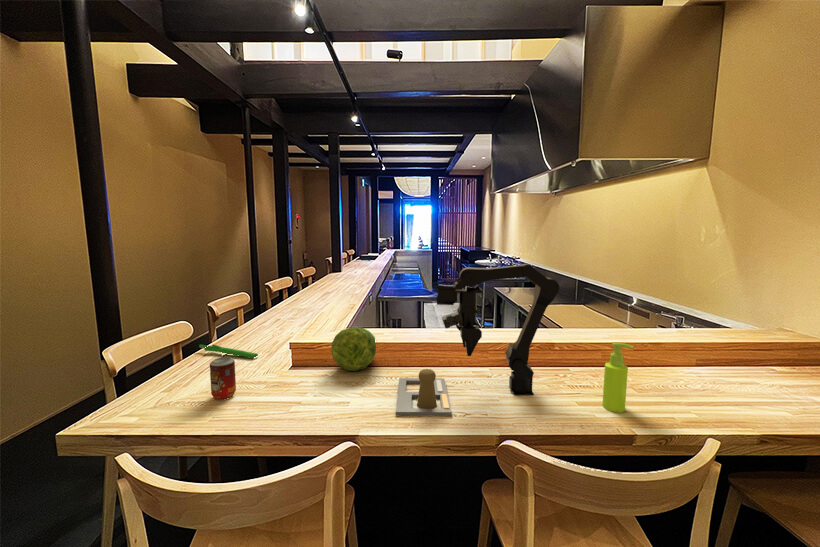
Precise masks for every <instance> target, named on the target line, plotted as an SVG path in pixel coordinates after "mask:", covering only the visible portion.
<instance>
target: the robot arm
mask: <svg viewBox="0 0 820 547" xmlns="http://www.w3.org/2000/svg"><path fill="white" fill-rule="evenodd" d="M514 278H515V279H516V278H526V279H527V280H528V281H530V282H531V283H532V284H533V285H535V286H534V287H535V288H534V291H533V301H532V304H531V306H530V309H529V310H528V314H527V316H526V318H525V321H524V323H523V326H522V328H521V330H520V333H519V335H518V337H517V339H516V341H515V342H514V343H512V342H509V343H508V347H507V349H506V350H505V351H504V354H505V360H506V362H507V365H508V367H509V369H510V370H511V371H510V375H509V379H508V381H509V382H508V388H509V390H510V391H511V392H512V394H513V395H514V396H534V395H535V394H534V392H533V379H534V378H533V377H534V374H535V372H534V371H533V369H532V367H531V365H530V364H529V358H530V348H531V345H532V342H533V340H534V338H535V336H536V333H537V331H538V328H539V327H540V325H541V324H540V323H541V321H542V319H543V317H544V314H545V312H546V310H547V308H548V306H550V305H551V304H552V302H553V301H554V300H555V299H556V296H557V295H558V294H559V292H560V290H561V288H560V284H559V282H558V281H557V280H555V279H554V278H550V277H548V276H545V275H544V274H542V273H540V272H539V271H538V270H536V269H535V268H534V267H533V265H532V264H528V263H522V264H518V265H509V266H498V267H491V268H486V267H485V268H483V267H472V266H471V267H470V266H467V267H464V268H462V269H461V270H460V271H459V277H458V279H457V280H456V281H455V282H454V284H441V283H439V284H438V285H437V294H436V305H437V306H454V305H455V304H456V303H458V307H457V309H456V310H457V311H454V312H451V313H449V314H446V315H443V316H441V320H442V323H443V325H444V328H445V329H450V328H452V327H453V326H456V328H457V330H458V331H460V332H459V333H460V338H461V341H462V346H463V348H465V349H466V350H465V351H466V356H467V357H471V356H472V355H473V352H474V350H475V349H476V347H477V344H478V342H479V341H480V340H481V339H482V338H483V336H482V335H483V332H482V330H481V329H480V327H478V321H477V314H478V307H477V301H478V294H482V293H483V292H484V291H483V289H482V288H481V287H480V284H483V283H485V282H488V281H497V280H506V279H514ZM465 288H466V289H465ZM458 293H459V295H458ZM458 296H459V297H458ZM458 299H459V300H458ZM458 301H459V302H458Z"/></svg>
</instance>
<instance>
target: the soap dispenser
mask: <svg viewBox="0 0 820 547" xmlns="http://www.w3.org/2000/svg"><path fill="white" fill-rule="evenodd" d="M611 346H612V347H613V352H610V355H609V358H610V359H609V362H605V363H604V371H603V372H604V373H603V374H604V375H603V391H602V405H601V406H602V407H603V408H604V409H605V410H607V411H610V412H614V413H623V412H625V411H626V401H627V400H626V397H627V386H628V384H627V383H628V373H629V372H628V370H629V367H628V366H627V365H626V364H624V354H622V353H621V350H622V348H626V349H630V350H633V349H634V347H635V346H634V345H632V344H629V343H623V342H612V343H611Z"/></svg>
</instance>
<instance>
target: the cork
mask: <svg viewBox="0 0 820 547" xmlns="http://www.w3.org/2000/svg"><path fill="white" fill-rule="evenodd" d="M418 378H419V380H420V384H419V389H418V392H419V395H418V398H417V403H416V406H417V407H418V409H437V406H438V405H437V398H436V395H435V387H434V381H435V378H437V374H436V372H435V371H434V370H433V369H431V368H423V369H421V370H420V371H419V372H418Z"/></svg>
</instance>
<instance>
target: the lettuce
mask: <svg viewBox="0 0 820 547" xmlns="http://www.w3.org/2000/svg"><path fill="white" fill-rule="evenodd" d="M375 339H376V337H375V336H374V334H373V333H372V332H371V331H370V330H368V329H366V328H363V327H362V326H353V327H348V328H345V329H342V330H340V331H339V332H338V333H337V334H336V335H335V337H334V338H333V340H332V342H331V350H330V351H331V356H332V358H333V361H334V362H335V364H337V365H338V367H340V368H341V369H343V370H346V371H353V372H354V371H355V372H358V371H360V370H363V369H366V368H367V367H369V365H370V364H371V363H372V362H373V360H374V359H375V357H376V353H377V352H376V343H375Z"/></svg>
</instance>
